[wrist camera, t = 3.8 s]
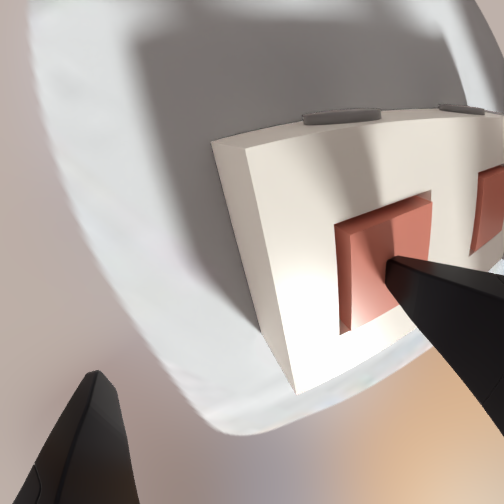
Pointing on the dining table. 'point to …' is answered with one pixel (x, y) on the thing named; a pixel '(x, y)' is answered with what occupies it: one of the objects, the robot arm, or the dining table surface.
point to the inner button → (488, 206)
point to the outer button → (377, 255)
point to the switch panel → (347, 216)
